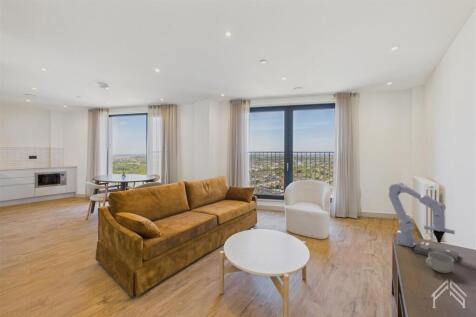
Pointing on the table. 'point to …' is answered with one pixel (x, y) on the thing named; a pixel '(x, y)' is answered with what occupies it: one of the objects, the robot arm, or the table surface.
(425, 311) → the table surface
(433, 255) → the teacup
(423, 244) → the fader
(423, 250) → the console
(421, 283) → the table surface
